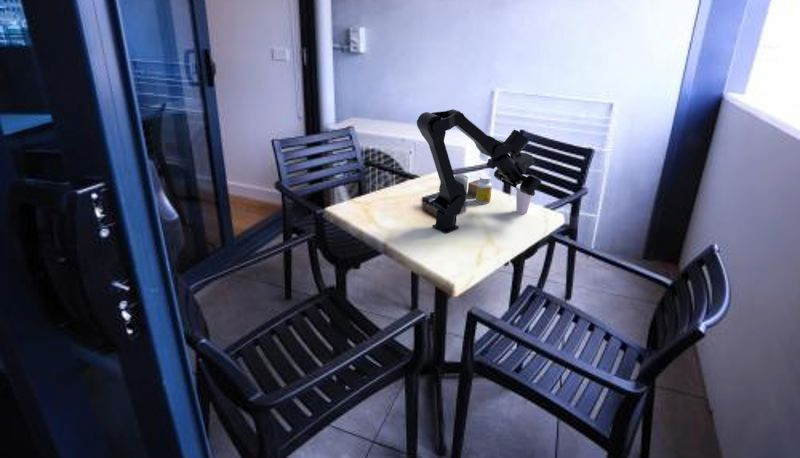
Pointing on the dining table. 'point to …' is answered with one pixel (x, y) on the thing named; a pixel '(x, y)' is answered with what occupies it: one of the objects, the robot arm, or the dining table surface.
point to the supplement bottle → (484, 190)
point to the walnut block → (473, 188)
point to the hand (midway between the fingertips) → (527, 191)
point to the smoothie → (522, 201)
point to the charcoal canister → (462, 181)
